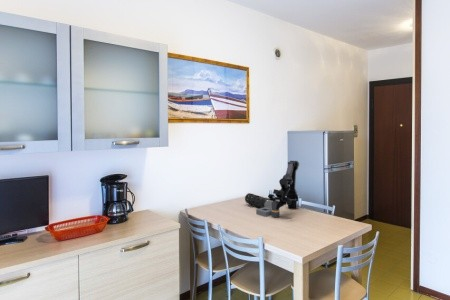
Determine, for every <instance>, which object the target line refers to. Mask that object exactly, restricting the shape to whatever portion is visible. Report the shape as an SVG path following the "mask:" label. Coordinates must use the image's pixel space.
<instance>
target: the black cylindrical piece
mask: <svg viewBox="0 0 450 300" xmlns="http://www.w3.org/2000/svg"><path fill="white" fill-rule="evenodd" d="M244 201H245V203H246V204H248V205H249V206H253V207H255V208H257V207H258V208H259V209H260V208H264V207H266V208H270V209H272V201H271V200H270V199H269V197H263V196H262V195H261V196H260V195H257V194H254V193H251V192H250V193H249V192H248V193H246V195H245V197H244Z"/></svg>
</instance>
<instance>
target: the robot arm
mask: <svg viewBox="0 0 450 300" xmlns="http://www.w3.org/2000/svg"><path fill="white" fill-rule="evenodd" d="M299 167H300V162H299V161H298V160H289V161H287V167H286V172H285V174H284V175H283V176H282V178H280V180H279V181H278V182H279V185H280V189H273V191H272V193H269V194H268V196H267V198H269V199H270V200H271V201H278V202H279V204H278V206H277V208H276V209H279V210H280V208H282V207H284V206H286V205H287V208H288V209H290V210H292V209H295V210H296V209H298V207H297V202H299V196H298V191H297V190H296V179H297V171H298V169H299Z"/></svg>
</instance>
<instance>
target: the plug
mask: <svg viewBox="0 0 450 300" xmlns="http://www.w3.org/2000/svg"><path fill="white" fill-rule="evenodd" d="M278 204H279V200H277V201H272V208H271V209H272V215H271V217H273V218H278V217H280V208H279V209H276V208H277V206H278Z"/></svg>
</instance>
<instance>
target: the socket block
mask: <svg viewBox="0 0 450 300" xmlns="http://www.w3.org/2000/svg"><path fill="white" fill-rule="evenodd" d="M255 213H256V215H258V216H262V217H265V218H266V217H270V216H271V217H272V208H271V209H270V208H266V207H264V208H260V207H259V208H257V209H256V210H255Z"/></svg>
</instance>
